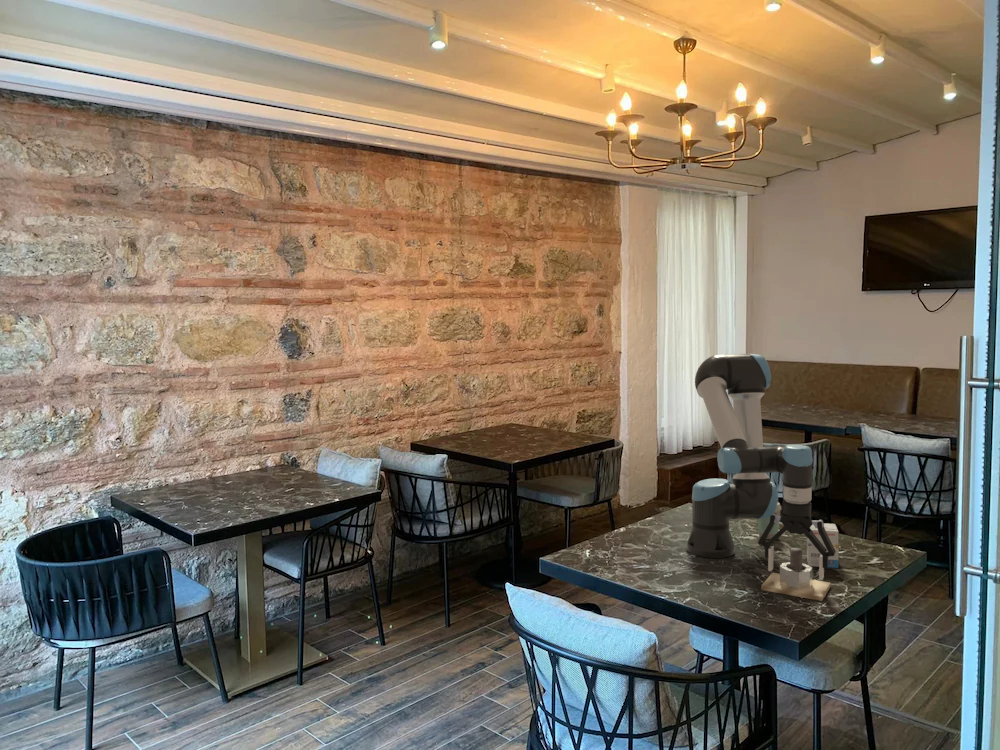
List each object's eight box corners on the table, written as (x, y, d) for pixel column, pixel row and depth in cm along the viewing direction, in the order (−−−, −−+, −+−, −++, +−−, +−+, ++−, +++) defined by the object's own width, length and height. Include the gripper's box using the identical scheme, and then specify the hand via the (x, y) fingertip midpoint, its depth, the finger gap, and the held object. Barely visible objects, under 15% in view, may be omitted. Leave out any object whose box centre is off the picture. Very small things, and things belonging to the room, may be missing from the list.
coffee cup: (785, 540, 252) (785, 505, 251) (759, 540, 252) (760, 506, 251) (776, 532, 260) (776, 499, 259) (751, 533, 260) (751, 499, 259)
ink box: (835, 559, 231) (836, 523, 230) (838, 568, 223) (839, 531, 222) (806, 557, 234) (806, 521, 233) (807, 566, 226) (808, 529, 225)
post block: (761, 589, 208) (761, 550, 207) (772, 576, 218) (772, 539, 217) (822, 601, 199) (822, 560, 198) (830, 586, 209) (831, 548, 208)
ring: (777, 586, 207) (777, 568, 207) (784, 577, 214) (784, 560, 213) (807, 591, 202) (808, 573, 202) (813, 582, 209) (814, 565, 209)
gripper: (747, 497, 210) (747, 570, 212) (842, 509, 196) (841, 587, 198) (755, 492, 216) (754, 562, 218) (847, 503, 202) (846, 578, 204)
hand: (795, 574), depth 208 cm, fingers open, 13 cm apart
